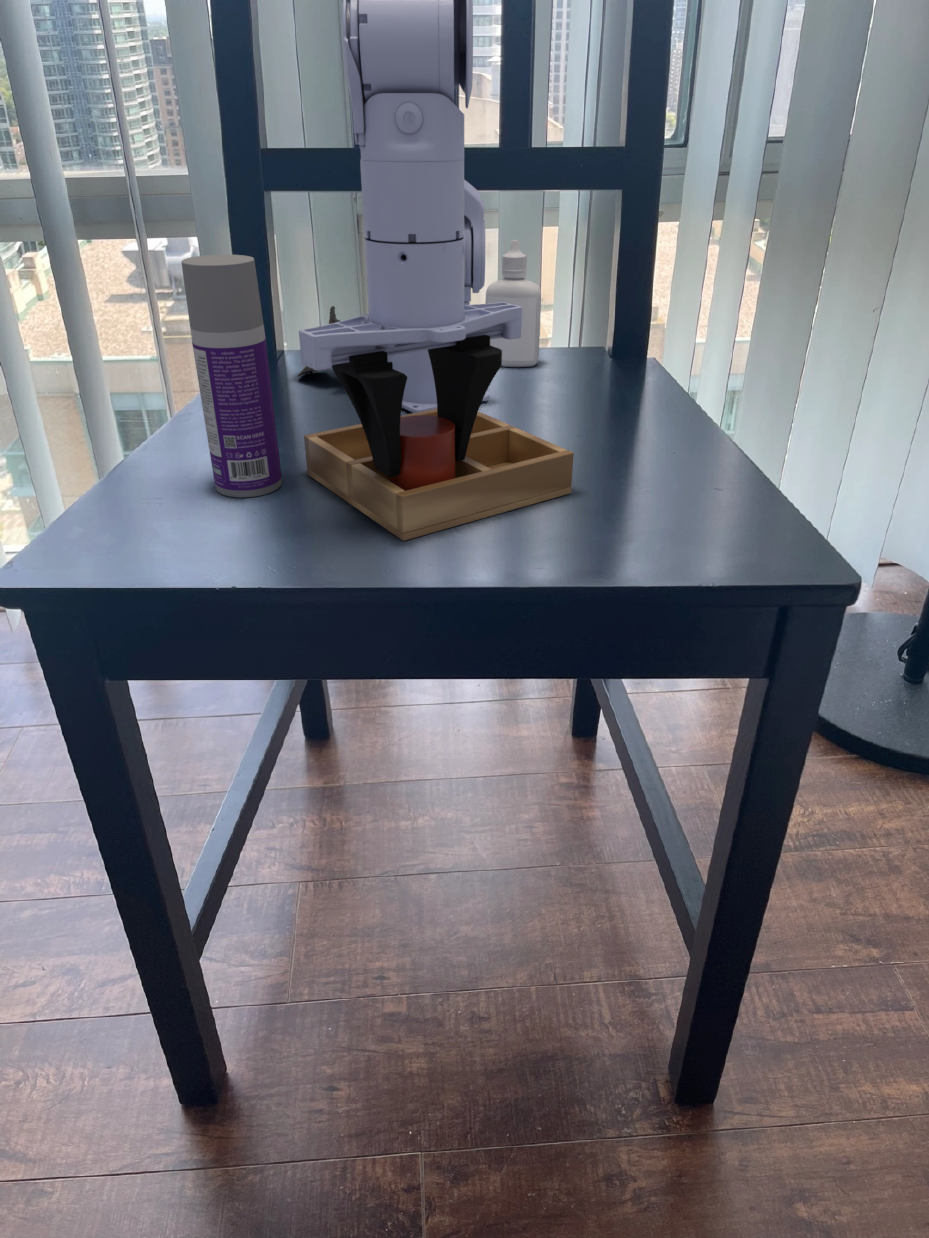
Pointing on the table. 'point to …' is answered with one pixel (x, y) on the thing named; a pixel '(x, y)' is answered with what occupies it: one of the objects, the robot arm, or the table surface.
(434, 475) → the red cylinder
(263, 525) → the table surface
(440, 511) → the grid
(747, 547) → the table surface
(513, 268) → the eye dropper bottle
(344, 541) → the table surface
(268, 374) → the container
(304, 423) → the table surface
